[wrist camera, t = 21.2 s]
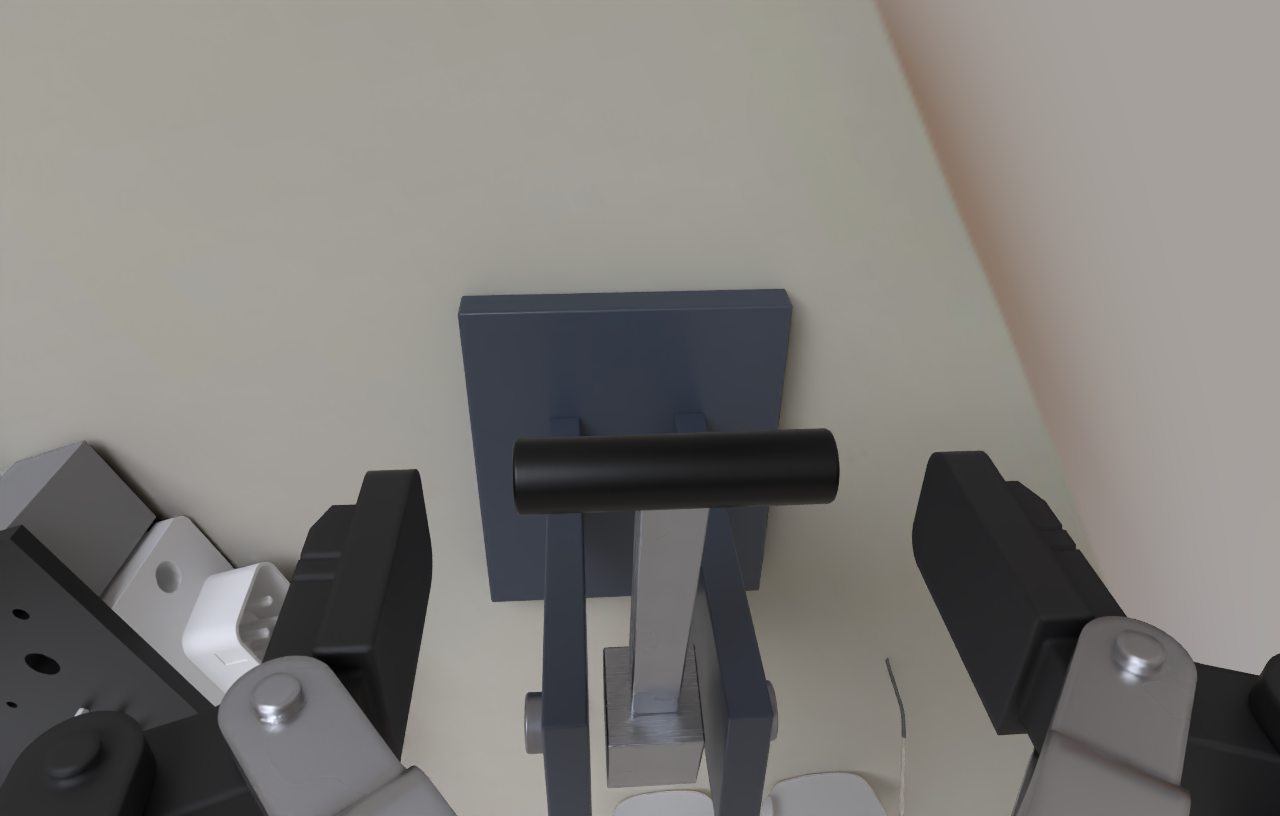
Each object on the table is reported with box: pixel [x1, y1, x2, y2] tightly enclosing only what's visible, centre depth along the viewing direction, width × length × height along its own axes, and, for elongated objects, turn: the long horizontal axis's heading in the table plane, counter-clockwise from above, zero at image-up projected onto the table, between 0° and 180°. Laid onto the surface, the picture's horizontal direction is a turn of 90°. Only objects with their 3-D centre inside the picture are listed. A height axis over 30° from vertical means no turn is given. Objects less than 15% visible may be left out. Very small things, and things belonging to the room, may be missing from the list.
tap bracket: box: [458, 289, 792, 816], centre depth 25 cm, size 12×10×13 cm
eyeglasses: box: [612, 658, 906, 816], centre depth 39 cm, size 14×8×4 cm, turn 95°
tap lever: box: [512, 428, 840, 788], centre depth 18 cm, size 12×5×2 cm, turn 0°
